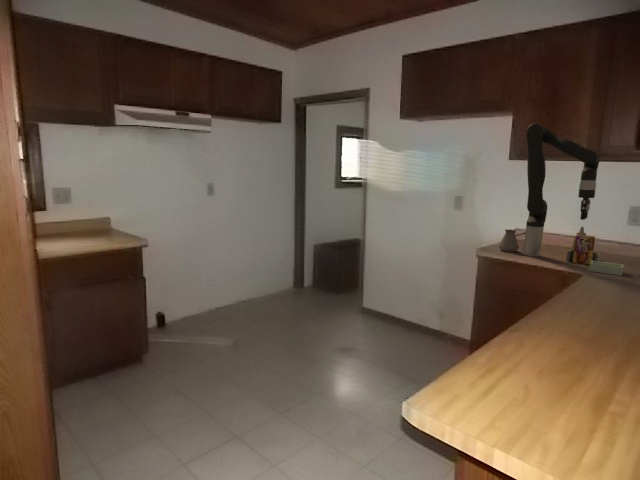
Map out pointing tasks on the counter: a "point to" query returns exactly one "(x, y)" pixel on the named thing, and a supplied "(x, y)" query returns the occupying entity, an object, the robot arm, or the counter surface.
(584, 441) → the counter surface
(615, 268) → the tray
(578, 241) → the candy box
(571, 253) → the bay
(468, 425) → the counter surface
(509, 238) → the coffee pot
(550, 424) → the counter surface
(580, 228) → the squeeze bottle
